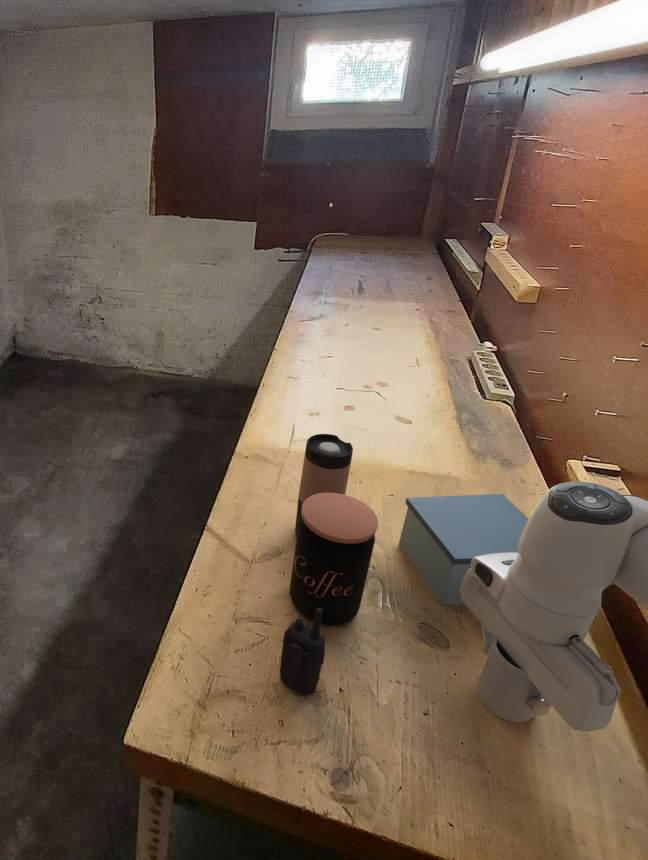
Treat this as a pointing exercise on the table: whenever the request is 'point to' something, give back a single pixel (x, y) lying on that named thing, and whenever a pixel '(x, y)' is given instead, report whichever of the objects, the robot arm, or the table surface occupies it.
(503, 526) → the storage container
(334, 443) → the travel mug
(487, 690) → the grey cup
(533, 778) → the table surface
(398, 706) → the table surface
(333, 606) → the coffee jar
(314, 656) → the two-way radio
